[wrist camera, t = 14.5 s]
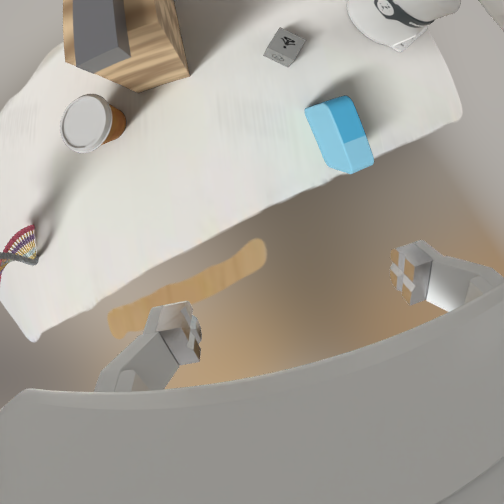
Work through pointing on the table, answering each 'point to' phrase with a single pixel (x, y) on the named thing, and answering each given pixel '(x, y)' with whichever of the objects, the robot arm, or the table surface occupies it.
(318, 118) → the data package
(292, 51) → the dice cube
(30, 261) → the dna model
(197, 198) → the table surface
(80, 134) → the disposable coffee cup
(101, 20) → the grey rectangular bar
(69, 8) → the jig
